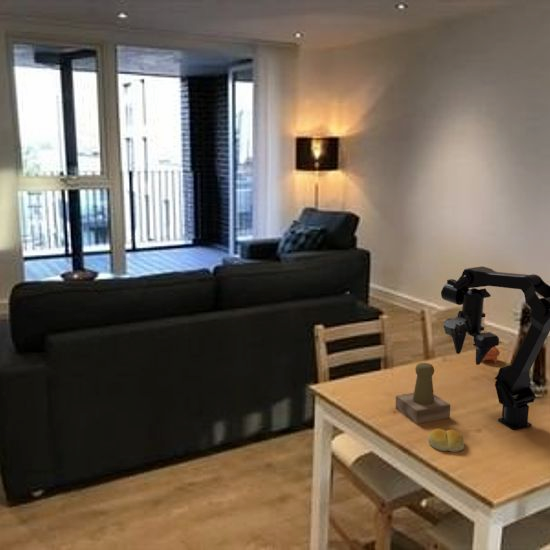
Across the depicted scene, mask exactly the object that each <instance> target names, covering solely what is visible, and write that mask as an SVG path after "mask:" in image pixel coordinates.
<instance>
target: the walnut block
mask: <svg viewBox="0 0 550 550" xmlns="http://www.w3.org/2000/svg"><path fill="white" fill-rule="evenodd" d="M413 395H414V392H411V393H404V394H400V395H398V394H397V395H395V410H397V411H398V412H400V413H401V415H404V416H405V417H406V418H407V419H409V420H410V421H412V422H413V423H414V424H415V425H419V424H423V423H424V424H425V423H429V422H434V421H435V422H436V421H440V420H445V419H449V418H451V404H450V403H449V402H447V401H445V400H444V399H442V398H441V397H439V396H437V395H436V394H434V403H433V404H429V405H422V404H418V403H415V402H414V401H413Z"/></svg>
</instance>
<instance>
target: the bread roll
mask: <svg viewBox="0 0 550 550" xmlns="http://www.w3.org/2000/svg"><path fill="white" fill-rule="evenodd" d="M427 438H428V440H427V442H428V444H429V445H430V446H431V447H433V448H434V449H436V450H437V451H441V452H448V451H449V452H452V453H453V452H454V453H455V452H459V451H460V452H461V451H462V450H463V449H464V448H465V443H464V442H465V441H464V440H465V438H464V435H463V434H462V433H461V432H459V431H458V430H456V429H448V430H445V429H442V428H435V429H433V430H432V431H431V432H430V433H429V434H428V436H427Z"/></svg>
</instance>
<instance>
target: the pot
mask: <svg viewBox="0 0 550 550" xmlns="http://www.w3.org/2000/svg"><path fill="white" fill-rule="evenodd" d="M500 354H501V353H500V350H499V349H498V347H496V346H495V347H492V348H491V349H490V350H489V352H488V353H487V354H486V356H485V357H484V359H483V360H487V361H489V360H493V363H494V364H495V363H497V360H498V357H499V355H500Z"/></svg>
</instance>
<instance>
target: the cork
mask: <svg viewBox="0 0 550 550" xmlns="http://www.w3.org/2000/svg"><path fill="white" fill-rule="evenodd" d="M414 369H415V374H416V379H415V385H414V391H413V393H414V395H413V401H414V402H415V403H418V404H422V405H429V404H433V403H434V395H435V393H434V384H433V375H434V373H435V368H434V366H433V365H432V364H431V363H429V362H419V363H418V364H417V365H416V366H415V368H414Z"/></svg>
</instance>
